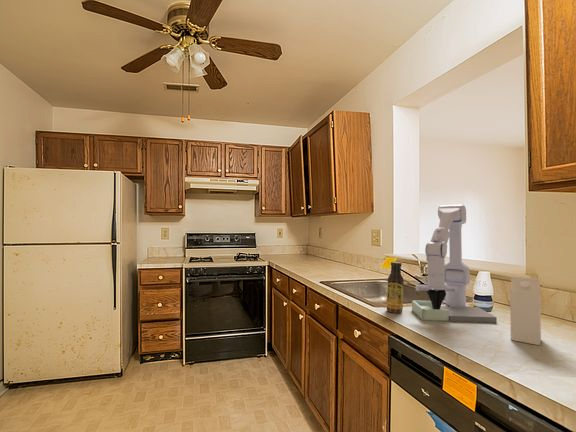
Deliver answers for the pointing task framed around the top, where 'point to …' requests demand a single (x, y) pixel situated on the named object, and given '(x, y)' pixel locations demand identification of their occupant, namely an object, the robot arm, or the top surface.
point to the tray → (429, 312)
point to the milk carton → (525, 310)
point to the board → (469, 314)
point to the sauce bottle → (395, 289)
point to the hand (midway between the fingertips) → (436, 310)
